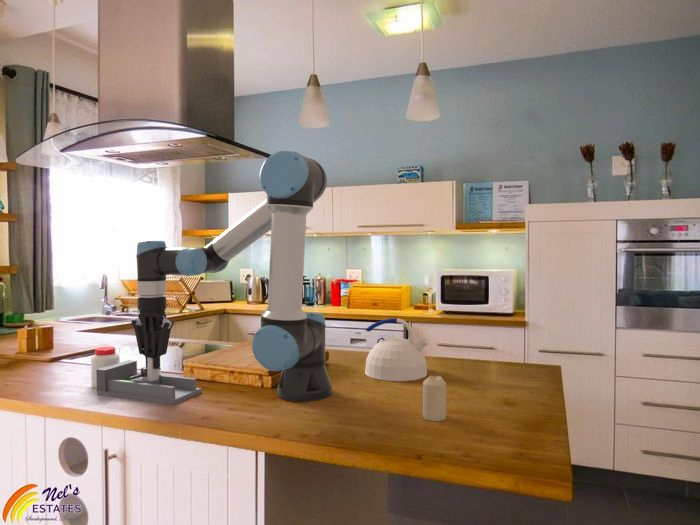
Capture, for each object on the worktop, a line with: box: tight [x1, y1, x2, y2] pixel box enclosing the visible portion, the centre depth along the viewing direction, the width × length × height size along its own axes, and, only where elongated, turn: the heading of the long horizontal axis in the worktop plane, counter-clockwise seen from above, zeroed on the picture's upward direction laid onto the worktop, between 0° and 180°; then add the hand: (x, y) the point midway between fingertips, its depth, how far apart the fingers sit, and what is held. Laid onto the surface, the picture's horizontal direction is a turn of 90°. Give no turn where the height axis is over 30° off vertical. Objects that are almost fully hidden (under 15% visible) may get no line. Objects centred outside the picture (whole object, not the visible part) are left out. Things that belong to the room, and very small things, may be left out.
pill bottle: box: [90, 346, 121, 389], centre depth 154 cm, size 8×8×11 cm
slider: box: [129, 366, 162, 385], centre depth 145 cm, size 4×12×6 cm, turn 160°
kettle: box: [364, 318, 429, 382], centre depth 166 cm, size 20×21×18 cm
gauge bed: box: [96, 359, 202, 406], centre depth 144 cm, size 26×12×7 cm, turn 69°
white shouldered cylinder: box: [422, 375, 447, 422], centre depth 124 cm, size 6×6×10 cm
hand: (153, 379), depth 144 cm, fingers closed
